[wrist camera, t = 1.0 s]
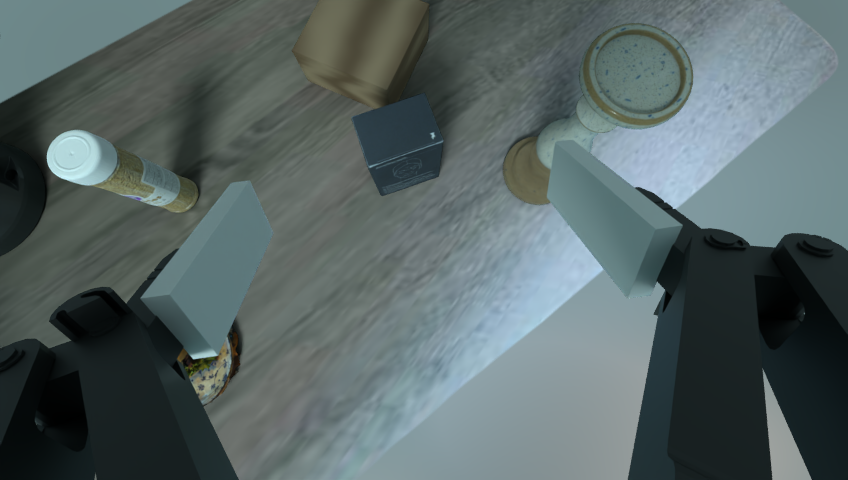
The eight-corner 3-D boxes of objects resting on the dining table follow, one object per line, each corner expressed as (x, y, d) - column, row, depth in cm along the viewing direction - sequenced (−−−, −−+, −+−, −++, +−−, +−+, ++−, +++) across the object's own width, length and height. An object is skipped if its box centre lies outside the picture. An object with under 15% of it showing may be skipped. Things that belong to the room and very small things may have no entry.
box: (424, 137, 43) (425, 90, 33) (439, 177, 42) (445, 142, 32) (366, 157, 43) (349, 115, 32) (380, 197, 42) (367, 168, 32)
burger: (122, 389, 39) (52, 413, 31) (166, 292, 40) (109, 293, 33) (217, 425, 38) (169, 458, 31) (258, 326, 40) (221, 335, 33)
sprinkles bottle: (163, 215, 41) (42, 181, 28) (163, 179, 42) (44, 130, 29) (201, 211, 41) (97, 176, 28) (200, 176, 42) (98, 125, 29)
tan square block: (309, 82, 44) (291, 50, 38) (347, 8, 46) (337, -34, 40) (391, 116, 44) (387, 90, 38) (427, 40, 45) (429, 4, 39)
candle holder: (489, 181, 42) (552, 88, 22) (524, 127, 43) (614, -10, 23) (548, 218, 42) (668, 156, 22) (582, 162, 43) (726, 54, 23)
